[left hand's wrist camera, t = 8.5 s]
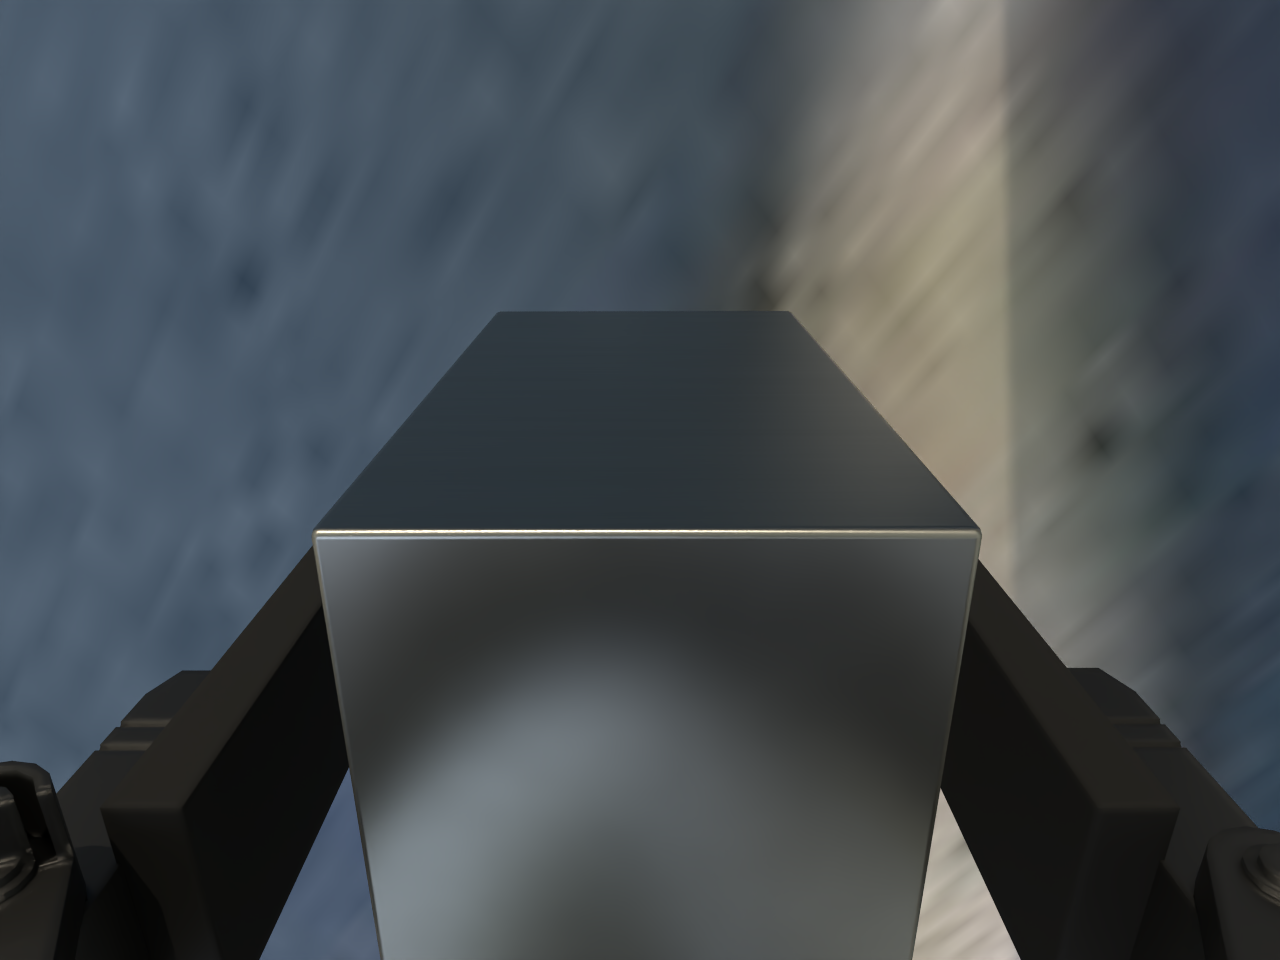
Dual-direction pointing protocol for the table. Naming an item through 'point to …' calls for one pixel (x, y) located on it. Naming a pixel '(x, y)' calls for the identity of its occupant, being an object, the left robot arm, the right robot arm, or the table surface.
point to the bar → (646, 649)
